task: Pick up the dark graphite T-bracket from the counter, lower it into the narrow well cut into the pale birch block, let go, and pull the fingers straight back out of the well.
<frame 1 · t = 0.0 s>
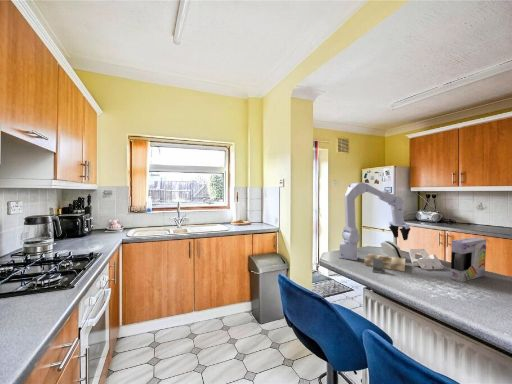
hand: (400, 238, 144), 11 cm above the countertop, tool pointing down, fingers open, 7 cm apart
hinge: (392, 257, 144), on the countertop
cake pan box: (467, 278, 110), on the countertop
mounting bracket: (425, 267, 125), on the countertop
t bracket: (377, 271, 119), on the countertop
well block: (384, 264, 128), on the countertop
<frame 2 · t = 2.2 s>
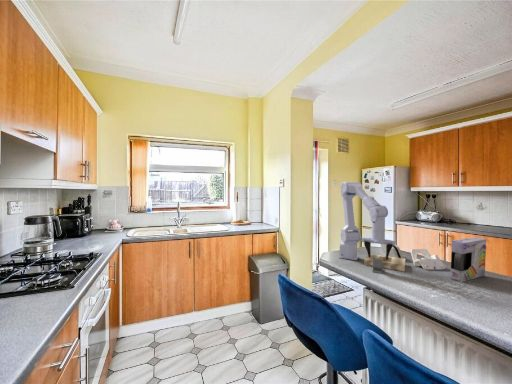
hand: (378, 258, 119), 6 cm above the countertop, tool pointing down, fingers open, 7 cm apart
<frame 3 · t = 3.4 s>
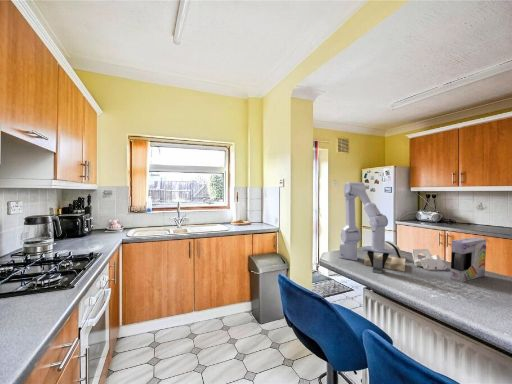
hand: (377, 267, 119), 2 cm above the countertop, tool pointing down, fingers closed on t bracket, 4 cm apart
t bracket: (377, 270, 119), on the countertop, touching gripper
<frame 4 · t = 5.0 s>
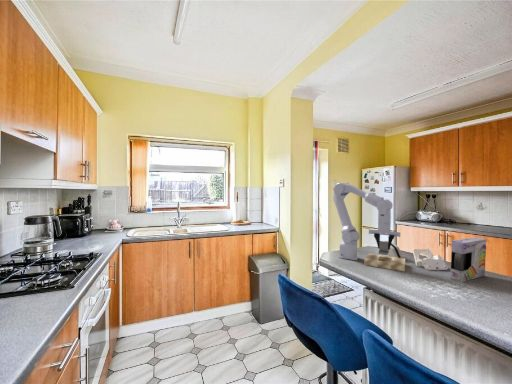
hand: (383, 248, 126), 9 cm above the countertop, tool pointing down, fingers closed on t bracket, 4 cm apart
t bracket: (383, 253, 126), point 7 cm above the countertop, touching gripper
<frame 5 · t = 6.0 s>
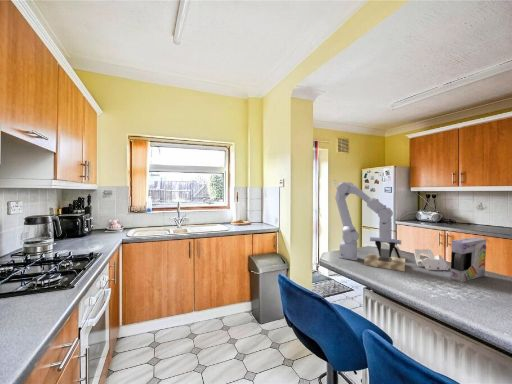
hand: (385, 256, 128), 4 cm above the countertop, tool pointing down, fingers closed on t bracket, 4 cm apart
t bracket: (384, 260, 128), point 2 cm above the countertop, touching gripper
when the fingers open (4 cm above the countertop, at t = 6.6 s): t bracket drops 2 cm, resting in well block.
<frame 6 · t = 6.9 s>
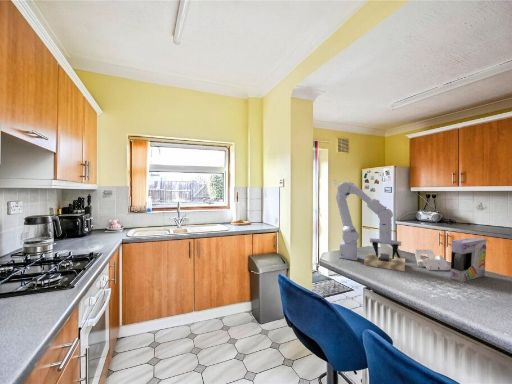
hand: (385, 257, 128), 4 cm above the countertop, tool pointing down, fingers open, 7 cm apart
t bracket: (384, 265, 128), resting in well block
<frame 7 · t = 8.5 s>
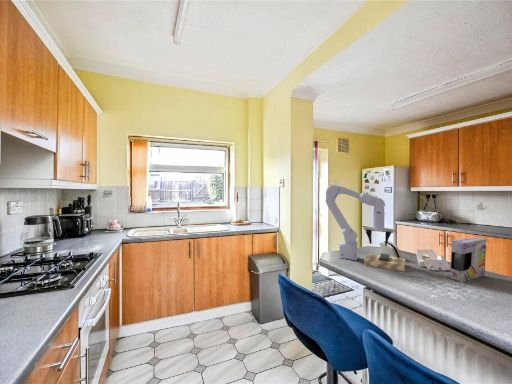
hand: (378, 244, 134), 9 cm above the countertop, tool pointing down, fingers open, 7 cm apart
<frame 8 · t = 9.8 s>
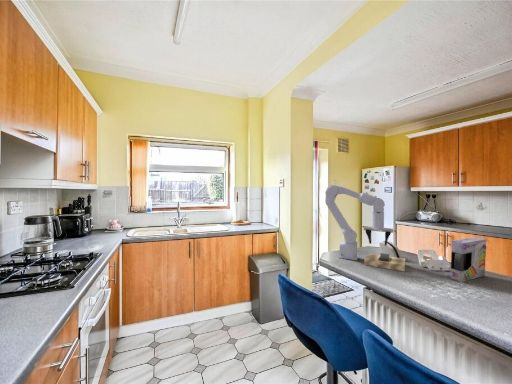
hand: (377, 244, 134), 9 cm above the countertop, tool pointing down, fingers open, 7 cm apart
at the end: t bracket 0.5 cm off-centre on the well block, point 0.0 cm above the well block's base; t bracket tilted 0°; the gripper is holding nothing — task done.
